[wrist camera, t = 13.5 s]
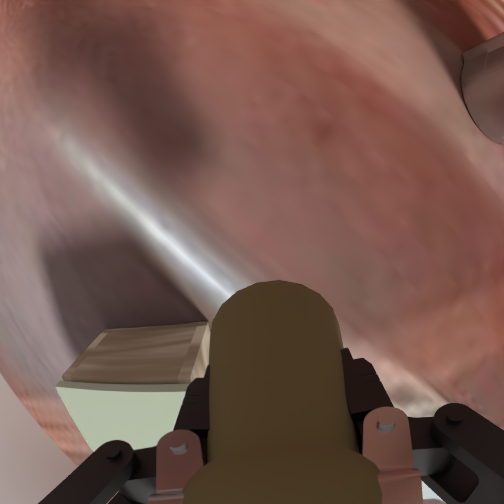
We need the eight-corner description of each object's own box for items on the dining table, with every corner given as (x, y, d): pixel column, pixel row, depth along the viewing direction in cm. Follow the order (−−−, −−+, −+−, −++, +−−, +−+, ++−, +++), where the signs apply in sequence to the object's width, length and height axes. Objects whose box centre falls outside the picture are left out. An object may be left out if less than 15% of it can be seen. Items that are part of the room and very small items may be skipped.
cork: (347, 373, 14) (414, 572, 3) (233, 400, 15) (207, 600, 4) (326, 263, 13) (469, 499, 2) (191, 299, 13) (72, 532, 3)
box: (104, 329, 25) (61, 376, 17) (208, 320, 25) (189, 378, 17) (143, 424, 28) (121, 477, 20) (233, 423, 27) (228, 484, 19)
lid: (60, 380, 17) (55, 386, 16) (193, 383, 17) (191, 391, 16) (120, 480, 20) (118, 486, 19) (231, 487, 19) (231, 494, 18)
